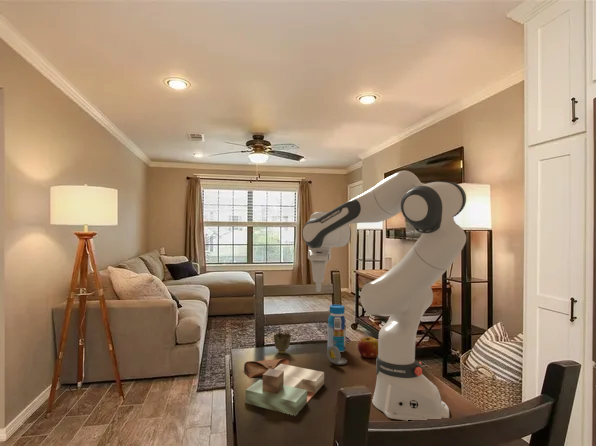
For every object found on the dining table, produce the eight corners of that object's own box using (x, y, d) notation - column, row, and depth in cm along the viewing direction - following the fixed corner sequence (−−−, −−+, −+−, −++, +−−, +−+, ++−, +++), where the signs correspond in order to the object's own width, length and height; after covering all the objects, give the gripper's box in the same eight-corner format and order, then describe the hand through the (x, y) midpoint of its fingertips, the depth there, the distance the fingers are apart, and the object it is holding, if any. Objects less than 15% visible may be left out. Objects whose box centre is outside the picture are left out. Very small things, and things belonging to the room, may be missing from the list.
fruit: (353, 356, 149) (353, 337, 149) (364, 351, 156) (364, 333, 156) (373, 362, 143) (373, 342, 143) (383, 356, 150) (384, 338, 150)
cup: (292, 351, 154) (292, 333, 154) (288, 356, 147) (288, 337, 147) (276, 349, 155) (276, 331, 156) (271, 355, 148) (271, 336, 148)
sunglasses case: (248, 379, 124) (246, 359, 127) (244, 382, 129) (243, 363, 132) (295, 373, 129) (293, 354, 133) (290, 376, 135) (288, 358, 138)
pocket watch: (347, 360, 144) (347, 336, 144) (346, 368, 136) (346, 342, 136) (327, 358, 146) (328, 334, 146) (325, 366, 137) (326, 340, 138)
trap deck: (323, 383, 121) (324, 372, 121) (295, 416, 99) (295, 402, 99) (280, 374, 128) (281, 363, 128) (245, 402, 106) (245, 389, 106)
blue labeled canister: (323, 350, 156) (324, 305, 156) (333, 345, 162) (334, 303, 163) (338, 354, 150) (339, 308, 151) (349, 350, 157) (350, 305, 157)
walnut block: (283, 386, 109) (283, 370, 109) (277, 393, 104) (277, 377, 104) (268, 384, 111) (269, 368, 111) (262, 390, 106) (262, 374, 106)
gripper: (312, 252, 142) (311, 286, 141) (309, 256, 121) (308, 295, 121) (327, 253, 141) (326, 287, 141) (327, 256, 121) (326, 296, 120)
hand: (318, 291), depth 131 cm, fingers closed
